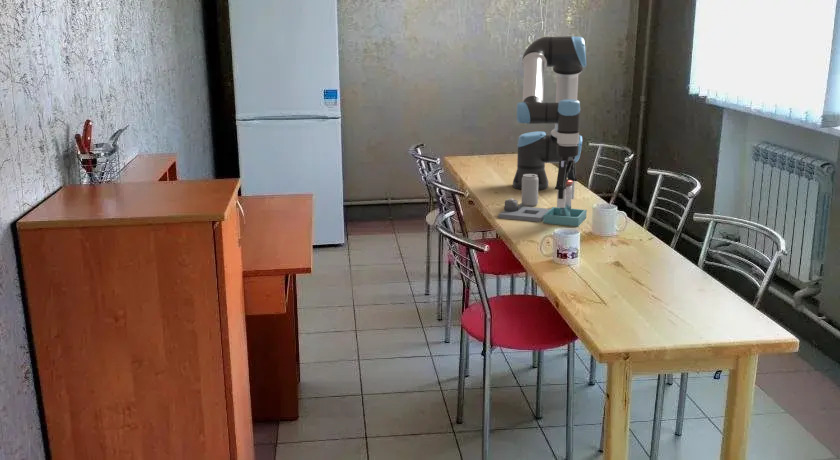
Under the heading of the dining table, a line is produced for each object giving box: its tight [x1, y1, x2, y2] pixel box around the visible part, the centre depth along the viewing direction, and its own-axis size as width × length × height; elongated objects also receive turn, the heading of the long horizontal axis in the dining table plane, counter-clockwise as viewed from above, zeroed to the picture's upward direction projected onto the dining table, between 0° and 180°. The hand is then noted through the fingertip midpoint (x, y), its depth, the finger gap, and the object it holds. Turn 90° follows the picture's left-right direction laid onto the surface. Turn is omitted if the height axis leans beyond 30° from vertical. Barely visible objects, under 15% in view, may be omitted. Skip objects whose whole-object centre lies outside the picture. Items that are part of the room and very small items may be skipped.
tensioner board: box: [498, 198, 551, 223], centre depth 292 cm, size 14×16×6 cm
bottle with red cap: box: [560, 178, 573, 217], centre depth 283 cm, size 5×5×14 cm
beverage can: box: [520, 174, 539, 207], centre depth 306 cm, size 6×6×12 cm
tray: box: [542, 206, 588, 227], centre depth 284 cm, size 13×13×3 cm
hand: (565, 203), depth 283 cm, fingers open, 13 cm apart
